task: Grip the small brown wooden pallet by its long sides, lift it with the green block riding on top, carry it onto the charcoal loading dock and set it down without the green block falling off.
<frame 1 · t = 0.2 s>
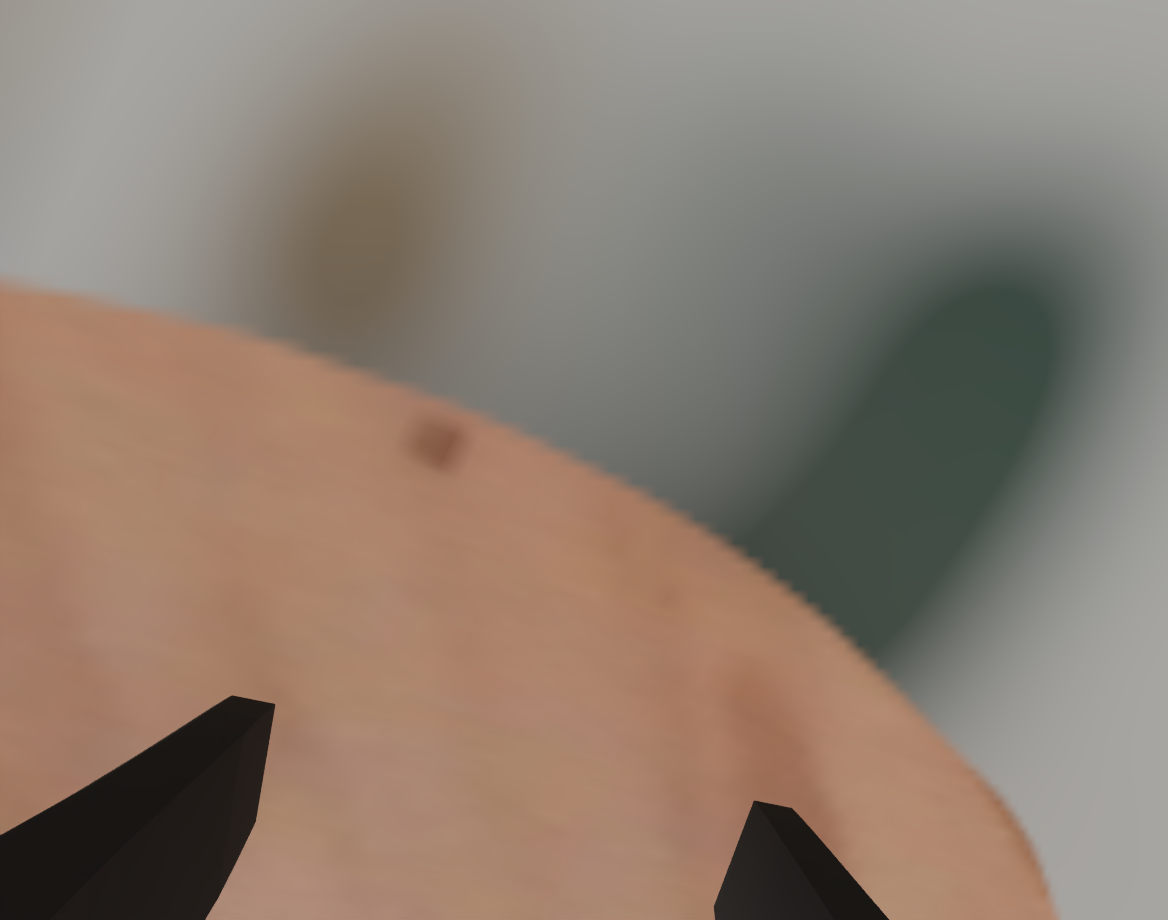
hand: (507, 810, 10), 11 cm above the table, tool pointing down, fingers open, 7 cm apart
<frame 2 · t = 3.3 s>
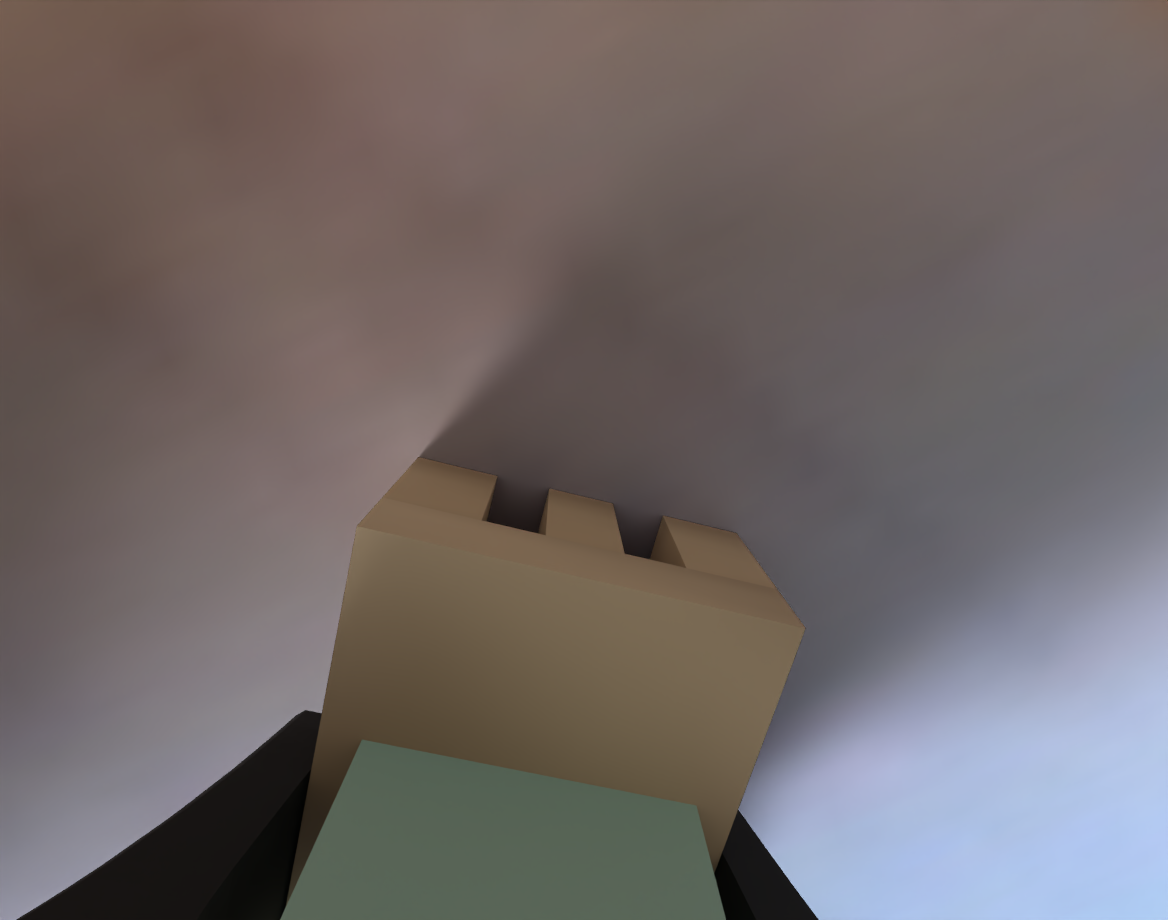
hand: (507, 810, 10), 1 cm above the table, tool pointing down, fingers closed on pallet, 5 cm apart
pallet: (514, 744, 11), on the table, touching green block, gripper
green block: (495, 907, 8), point 3 cm above the table, touching pallet
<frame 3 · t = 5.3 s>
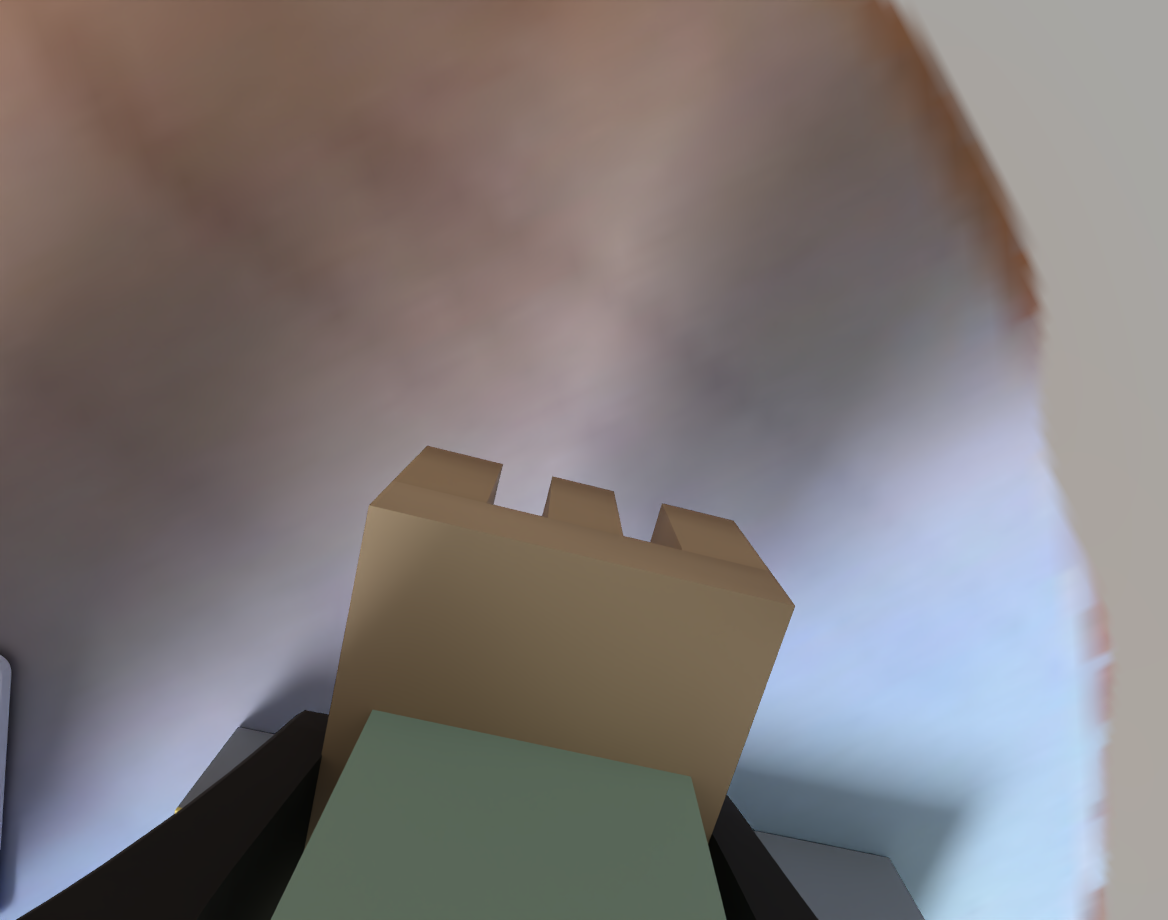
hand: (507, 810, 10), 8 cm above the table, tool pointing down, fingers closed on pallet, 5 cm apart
pallet: (518, 725, 11), point 7 cm above the table, touching green block, gripper
green block: (498, 873, 8), point 10 cm above the table, touching pallet
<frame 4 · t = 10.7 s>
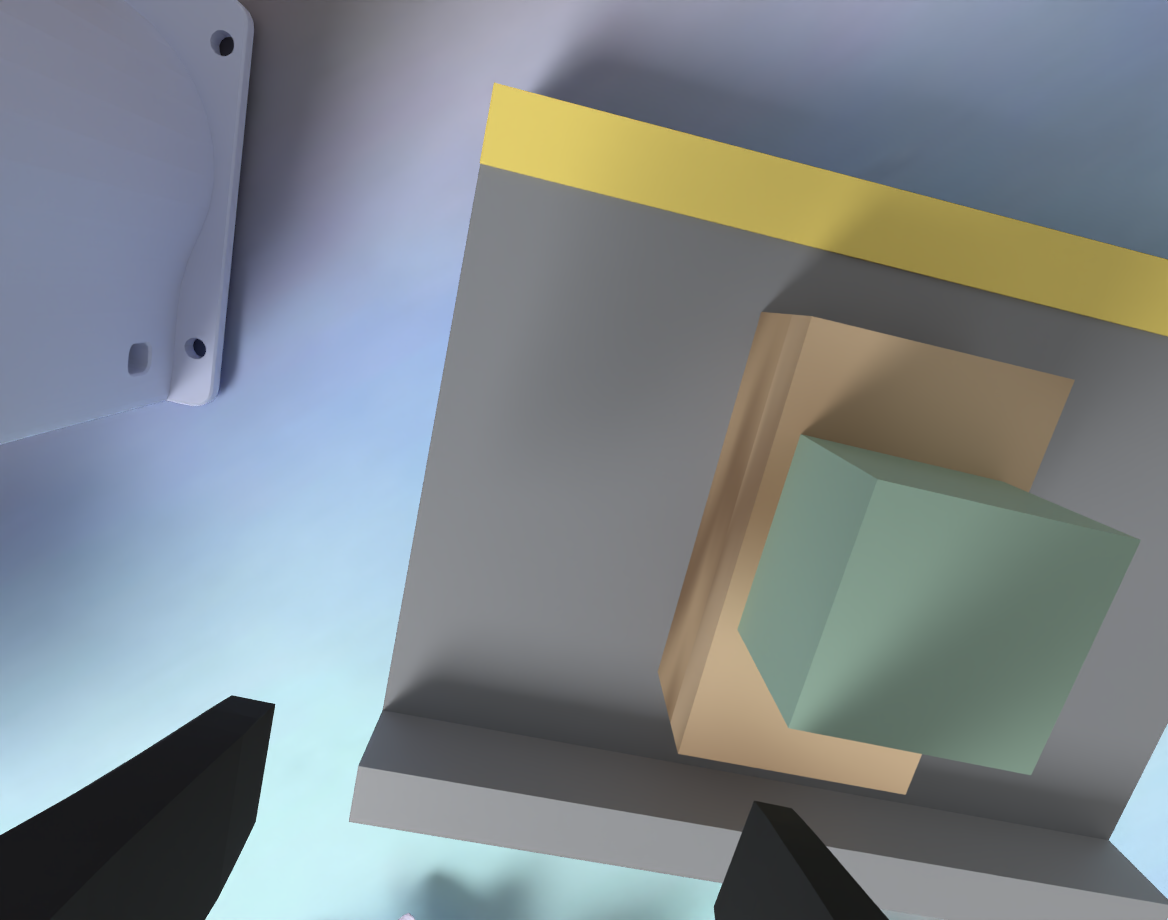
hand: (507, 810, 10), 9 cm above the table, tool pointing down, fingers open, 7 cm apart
pallet: (807, 525, 15), point 3 cm above the table, touching green block, dock
dock: (797, 512, 19), on the table
green block: (867, 557, 12), point 6 cm above the table, touching pallet
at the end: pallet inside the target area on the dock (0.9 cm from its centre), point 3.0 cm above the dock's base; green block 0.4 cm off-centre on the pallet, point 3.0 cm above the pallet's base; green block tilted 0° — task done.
